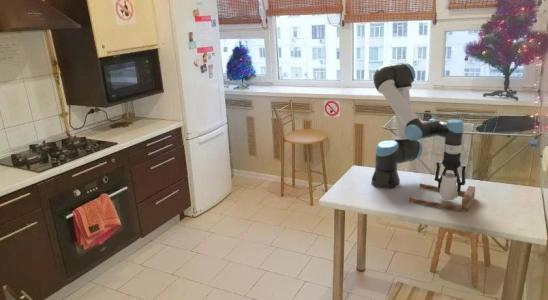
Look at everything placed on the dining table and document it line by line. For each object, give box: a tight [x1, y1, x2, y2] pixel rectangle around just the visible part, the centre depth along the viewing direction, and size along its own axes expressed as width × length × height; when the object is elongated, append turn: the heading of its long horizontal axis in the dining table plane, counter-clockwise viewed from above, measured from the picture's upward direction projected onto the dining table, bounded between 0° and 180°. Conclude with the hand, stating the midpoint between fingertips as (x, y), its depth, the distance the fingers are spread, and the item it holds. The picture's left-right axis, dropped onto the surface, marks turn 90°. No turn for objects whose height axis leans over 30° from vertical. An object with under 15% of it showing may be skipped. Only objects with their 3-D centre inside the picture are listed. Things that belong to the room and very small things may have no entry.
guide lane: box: [408, 183, 466, 213], centre depth 213 cm, size 24×20×2 cm
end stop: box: [461, 185, 476, 212], centre depth 205 cm, size 3×17×6 cm, turn 147°
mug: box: [440, 172, 457, 201], centre depth 209 cm, size 10×7×12 cm, turn 156°
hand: (448, 195), depth 210 cm, fingers closed on mug, 6 cm apart
